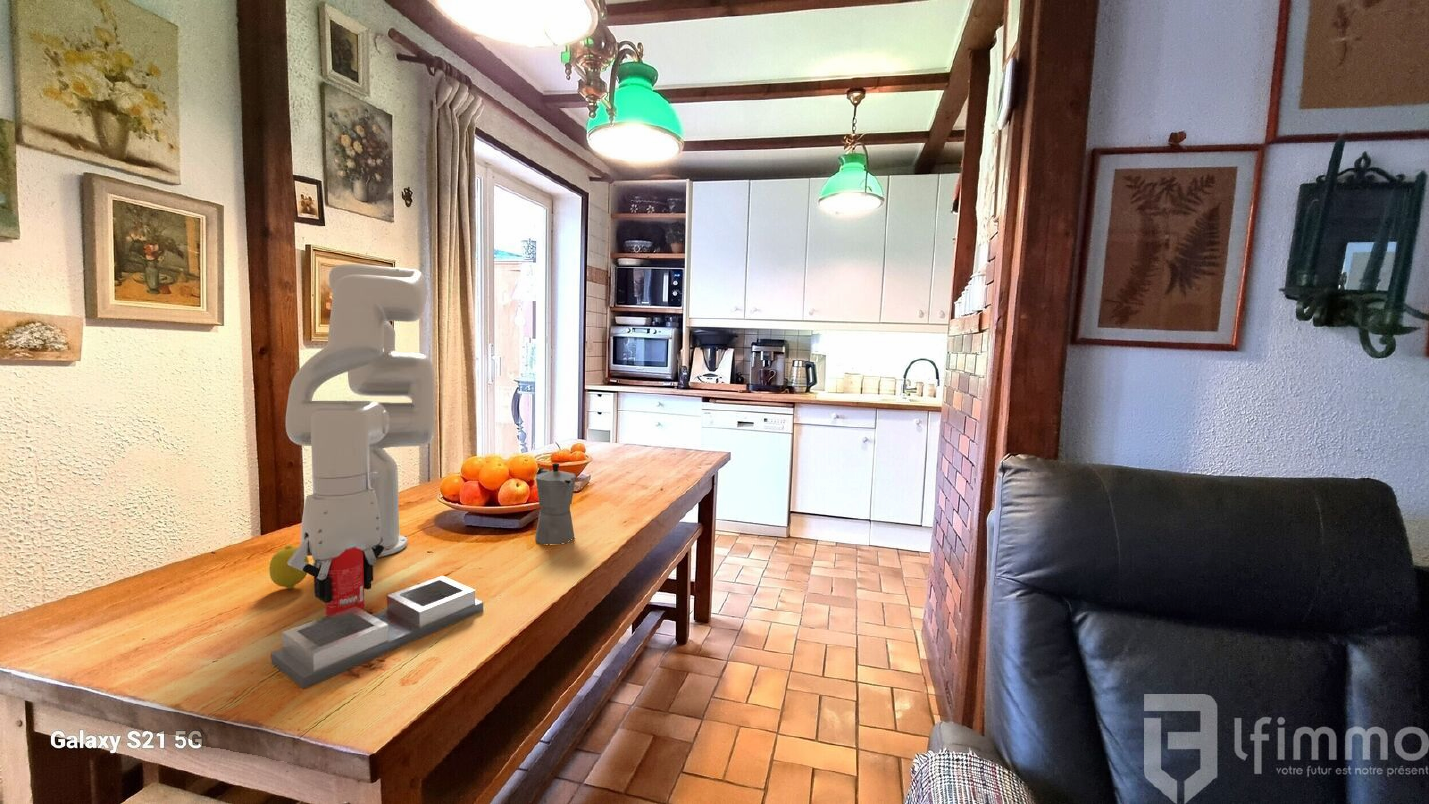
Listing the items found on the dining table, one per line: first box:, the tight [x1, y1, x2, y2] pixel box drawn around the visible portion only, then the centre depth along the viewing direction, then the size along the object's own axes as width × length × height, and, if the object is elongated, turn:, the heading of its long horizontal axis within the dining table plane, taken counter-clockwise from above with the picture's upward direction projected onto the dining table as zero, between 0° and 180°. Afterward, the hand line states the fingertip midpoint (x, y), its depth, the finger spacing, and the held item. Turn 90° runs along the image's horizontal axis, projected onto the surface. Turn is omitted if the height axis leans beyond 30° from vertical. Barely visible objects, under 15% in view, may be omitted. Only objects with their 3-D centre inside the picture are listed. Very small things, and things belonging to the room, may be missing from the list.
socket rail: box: [270, 575, 484, 690], centre depth 83 cm, size 10×26×4 cm, turn 148°
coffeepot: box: [534, 462, 577, 546], centre depth 126 cm, size 15×9×18 cm, turn 44°
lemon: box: [268, 544, 310, 590], centre depth 96 cm, size 6×6×8 cm
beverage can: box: [325, 546, 366, 617], centre depth 87 cm, size 5×5×12 cm
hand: (345, 592), depth 88 cm, fingers closed on beverage can, 5 cm apart
